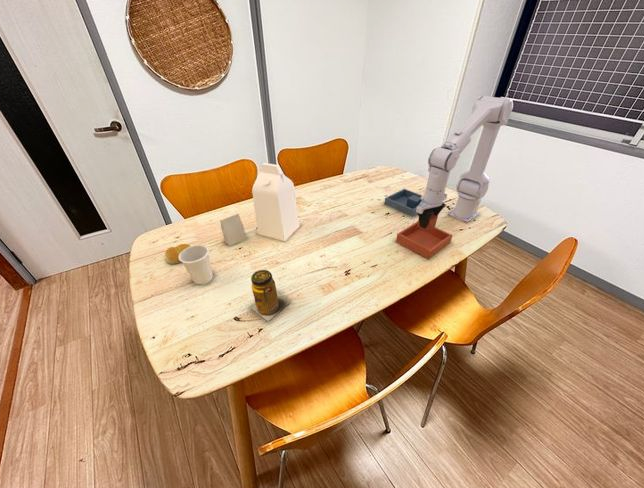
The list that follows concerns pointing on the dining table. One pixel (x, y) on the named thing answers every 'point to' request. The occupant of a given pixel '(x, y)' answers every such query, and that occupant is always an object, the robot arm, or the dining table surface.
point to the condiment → (266, 295)
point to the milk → (275, 203)
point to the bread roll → (175, 253)
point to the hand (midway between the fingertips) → (426, 224)
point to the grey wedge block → (233, 230)
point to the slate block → (413, 201)
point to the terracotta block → (429, 223)
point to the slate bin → (401, 201)
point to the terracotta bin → (424, 240)
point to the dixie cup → (197, 263)
